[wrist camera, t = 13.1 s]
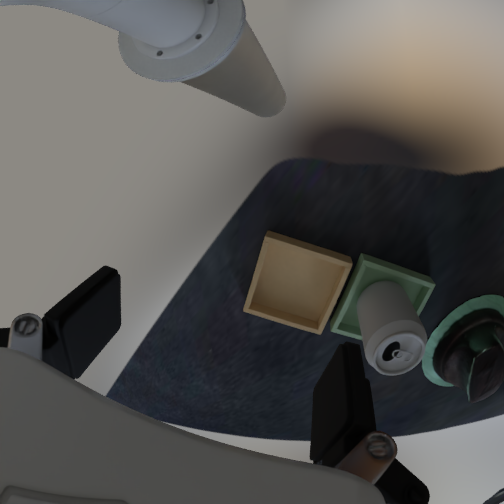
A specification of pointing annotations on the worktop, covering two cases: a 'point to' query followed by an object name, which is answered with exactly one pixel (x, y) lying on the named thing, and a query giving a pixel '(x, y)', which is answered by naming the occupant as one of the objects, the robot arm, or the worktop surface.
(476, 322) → the black and teal hat
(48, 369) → the robot arm
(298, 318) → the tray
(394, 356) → the can
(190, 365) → the worktop surface
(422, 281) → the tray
